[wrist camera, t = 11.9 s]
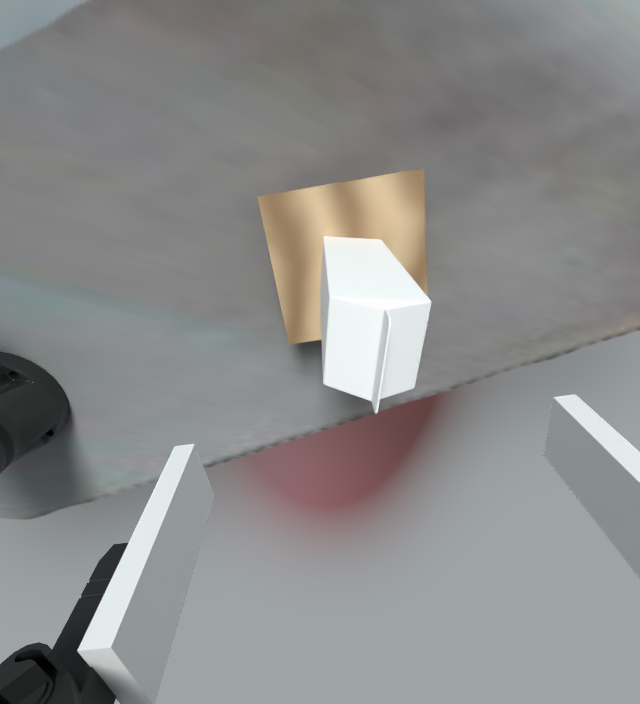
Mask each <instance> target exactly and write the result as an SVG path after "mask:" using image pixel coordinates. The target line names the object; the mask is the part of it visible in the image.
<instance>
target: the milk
mask: <svg viewBox="0 0 640 704" xmlns="http://www.w3.org/2000/svg"><path fill="white" fill-rule="evenodd" d="M430 308H431V300H430V299H429V298H428V297H427V296H426V294H425V293H424V292H423V291H422V289H421V288H420V287H419V286H418V284H417V283H416V282H415V281H414V279H413V278H412V277H411V276H410V275H409V273H408V272H407V271H406V270H405V268H404V267H403V266H402V265H401V263H400V262H399V261H398V260H397V258H396V257H395V256H394V255H393V254H392V252H391V251H390V250H389V249H388V247H387V246H386V245H385V244H384V242H383V241H382V240H381V239H364V238H347V237H329V236H324V237H323V248H322V265H321V281H320V309H321V338H322V366H323V384H324V385H326V386H329V387H332V388H335V389H338V390H341V391H343V392H346V393H349V394H352V395H355V396H358V397H360V398H363V399H366V400H369V401H371V402H372V405H373V409H374V413H375V414H377V413H378V407H379V401H380V399H383V398H386V397H389V396H392V395H395V394H398V393H401V392H405V391H408V390H411V389H413V388H414V387H415V383H416V378H417V373H418V368H419V363H420V358H421V353H422V348H423V343H424V338H425V333H426V328H427V323H428V318H429V313H430Z"/></svg>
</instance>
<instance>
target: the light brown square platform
mask: <svg viewBox="0 0 640 704" xmlns="http://www.w3.org/2000/svg"><path fill="white" fill-rule="evenodd" d="M258 202H259V206H260V211H261V216H262V220H263V225H264V230H265V235H266V239H267V244H268V249H269V253H270V258H271V263H272V267H273V272H274V277H275V282H276V286H277V291H278V296H279V300H280V305H281V310H282V314H283V319H284V324H285V329H286V333H287V338H288V343H289V344H296V343H302V342H309V341H316V340H322V338H321V309H320V281H321V265H322V248H323V237H324V236H329V237H347V238H364V239H381V240H382V241H383V242H384V244H385V245H386V246H387V247H388V249H389V250H390V251H391V252H392V254H393V255H394V256H395V257H396V258H397V260H398V261H399V262H400V263H401V265H402V266H403V267H404V268H405V270H406V271H407V272H408V273H409V275H410V276H411V277H412V278H413V279H414V281H415V282H416V283H417V284H418V286H419V287H420V288H421V289H422V291H423V292H424V293H425V294H426V296H427V260H426V222H425V184H424V169H416V170H410V171H405V172H399V173H393V174H387V175H381V176H375V177H369V178H363V179H357V180H351V181H345V182H339V183H333V184H327V185H321V186H316V187H310V188H304V189H298V190H292V191H286V192H280V193H274V194H268V195H262V196H258ZM427 324H428V323H427Z"/></svg>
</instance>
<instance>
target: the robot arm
mask: <svg viewBox="0 0 640 704" xmlns="http://www.w3.org/2000/svg"><path fill="white" fill-rule="evenodd" d="M68 416H69V407H68V402H67V399H66V396H65V394H64V392H63V390H62V389H61V387H60V386H59V384H58V383H57V382H56V381H55V380H54V379H53V378H52V377H51V376H50V375H49V374H48V373H47V372H46V371H45V370H43V369H42V368H40V367H39V366H37V365H36V364H34V363H32V362H30V361H28V360H26V359H24V358H22V357H19V356H16V355H13V354H9V353H4V352H0V473H1V472H2V471H3V470H4V469H5V468H6V467H7V466H8V465H9V464H10V463H11V462H13V461H15V460H17V459H19V458H21V457H23V456H25V455H27V454H29V453H31V452H33V451H34V450H36V449H38V448H40V447H42V446H44V445H46V444H47V443H49V442H50V441H51V440H52V439H54V438H55V436H56V435H57V434H58V433H59V432H60V431H61V430H62V429H63V428H64V426H65V425H66V423H67V420H68ZM544 457H545V458H546V459H547V460H548V462H549V463H550V464H551V465H552V467H553V468H554V469H555V471H556V472H557V473H558V474H559V476H560V477H561V478H562V480H563V481H564V482H565V483H566V485H567V486H568V487H569V489H570V490H571V491H572V492H573V494H574V495H575V496H576V498H577V499H578V500H579V501H580V503H581V504H582V505H583V507H584V508H585V509H586V510H587V512H588V513H589V514H590V515H591V517H592V518H593V519H594V521H595V522H596V523H597V524H598V526H599V527H600V528H601V529H602V531H603V532H604V533H605V535H606V536H607V537H608V539H609V540H610V541H611V542H612V544H613V545H614V546H615V548H616V549H617V550H618V551H619V553H620V554H621V555H622V557H623V558H624V559H625V560H626V562H627V563H628V564H629V565H630V567H631V568H632V569H633V571H634V572H635V573H636V574H637V576H638V577H639V578H640V452H639V451H638V450H637V449H636V448H634V447H633V446H632V445H631V444H630V443H629V442H628V441H627V440H626V439H625V438H623V437H622V436H621V435H620V434H619V433H618V432H617V431H615V430H614V429H613V428H612V427H611V426H610V425H609V424H608V423H606V421H604V420H603V419H602V418H601V417H600V416H599V415H598V414H597V413H595V412H594V411H593V410H592V409H591V408H590V407H589V406H588V405H586V404H585V403H584V402H583V401H582V400H581V399H580V398H579V397H577V396H576V395H575V394H574V395H566V396H559V397H553V402H552V408H551V415H550V421H549V427H548V433H547V440H546V447H545V452H544ZM214 497H215V496H214V493H213V491H212V488H211V485H210V483H209V480H208V478H207V475H206V472H205V470H204V467H203V464H202V462H201V459H200V456H199V454H198V451H197V449H196V446H195V444H189V445H181V446H175V447H174V449H173V451H172V453H171V455H170V457H169V459H168V461H167V464H166V466H165V468H164V470H163V472H162V474H161V476H160V478H159V480H158V482H157V485H156V487H155V489H154V491H153V493H152V495H151V497H150V500H149V502H148V503H147V506H146V508H145V510H144V512H143V514H142V516H141V518H140V520H139V522H138V525H137V526H136V529H135V531H134V533H133V535H132V537H131V539H130V541H129V543H123V544H114V545H113V546H112V547H111V548H110V550H109V551H108V552H107V553H106V554H105V555H104V556H103V557H102V559H101V560H100V561H99V562H98V564H97V566H96V568H95V570H94V572H93V574H92V576H91V577H90V582H89V583H87V585H86V587H85V589H84V591H83V593H82V594H81V595H82V597H81V599H79V600H78V602H77V604H76V606H75V608H74V610H73V611H72V613H71V615H70V617H69V619H68V621H67V623H66V625H65V627H64V628H63V631H62V633H61V634H60V636H59V638H58V640H57V642H56V644H55V646H54V647H53V649H52V650H51V649H50V647H49V646H48V645H46V644H42V643H34V644H30V645H27V646H25V647H23V648H21V649H20V650H18V651H16V652H14V653H13V654H12V655H11V656H9V657H8V658H7V659H6V660H5V661H4V662H2V663H1V664H0V704H114V702H115V699H117V700H118V701H119V702H120V704H155V701H156V698H157V694H158V691H159V687H160V684H161V680H162V677H163V673H164V670H165V667H166V663H167V659H168V656H169V653H170V649H171V646H172V642H173V639H174V635H175V632H176V628H177V625H178V621H179V618H180V614H181V611H182V608H183V604H184V601H185V597H186V594H187V590H188V587H189V583H190V580H191V576H192V573H193V569H194V566H195V563H196V559H197V556H198V552H199V549H200V545H201V542H202V538H203V535H204V531H205V528H206V524H207V521H208V517H209V514H210V510H211V507H212V504H213V500H214Z"/></svg>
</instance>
